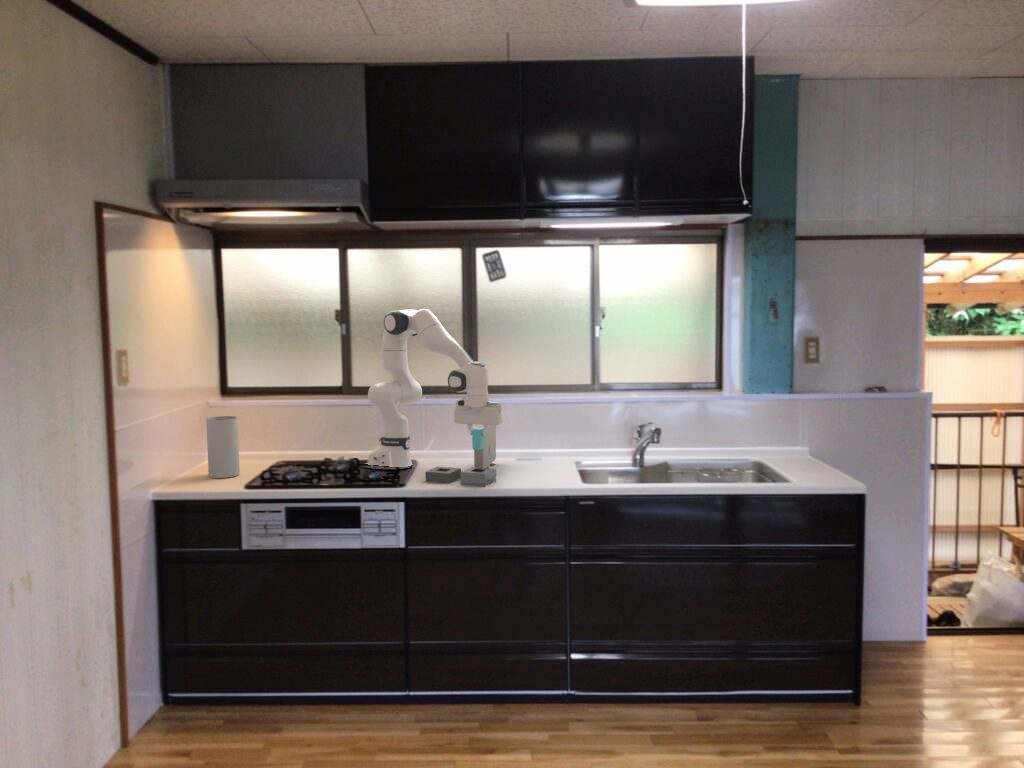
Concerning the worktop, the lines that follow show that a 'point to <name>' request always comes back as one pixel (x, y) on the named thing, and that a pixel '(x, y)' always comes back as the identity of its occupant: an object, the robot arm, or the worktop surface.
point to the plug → (477, 439)
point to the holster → (443, 474)
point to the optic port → (478, 476)
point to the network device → (486, 449)
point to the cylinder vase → (223, 446)
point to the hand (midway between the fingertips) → (478, 435)
